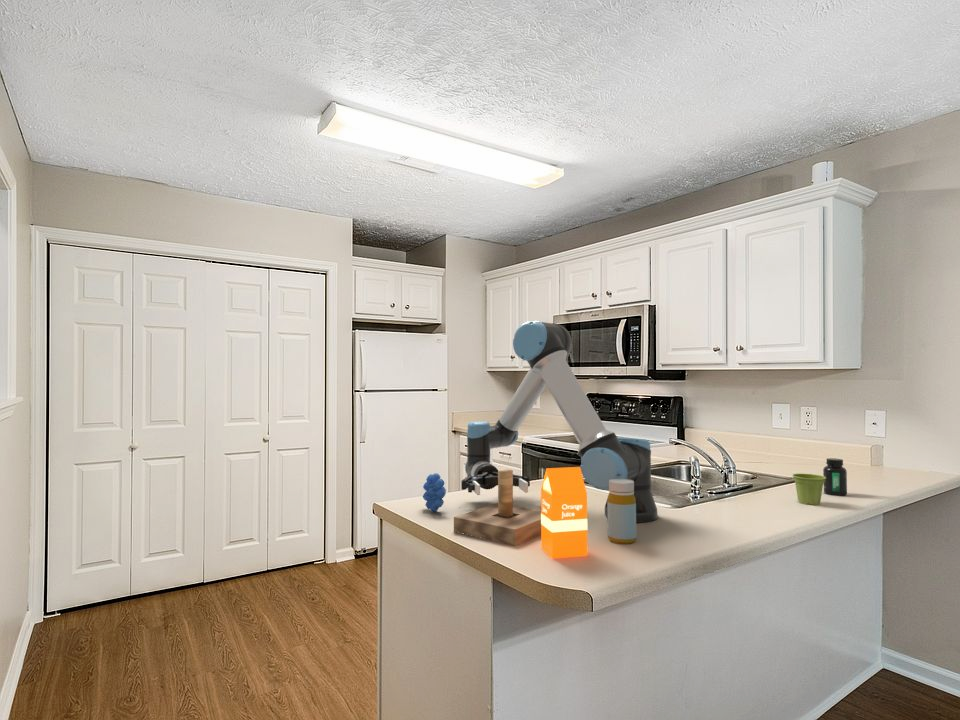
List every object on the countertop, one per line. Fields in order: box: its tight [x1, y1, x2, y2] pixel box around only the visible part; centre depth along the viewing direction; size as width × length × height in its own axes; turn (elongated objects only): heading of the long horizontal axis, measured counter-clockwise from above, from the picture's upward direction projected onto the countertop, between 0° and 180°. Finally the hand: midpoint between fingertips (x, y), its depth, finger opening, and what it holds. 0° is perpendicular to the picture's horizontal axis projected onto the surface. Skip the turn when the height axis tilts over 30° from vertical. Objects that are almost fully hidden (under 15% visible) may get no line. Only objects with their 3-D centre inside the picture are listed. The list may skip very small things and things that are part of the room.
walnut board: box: [453, 502, 541, 547], centre depth 154 cm, size 20×20×4 cm
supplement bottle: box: [822, 458, 848, 497], centre depth 195 cm, size 7×7×12 cm
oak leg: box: [497, 469, 514, 519], centre depth 154 cm, size 4×4×16 cm
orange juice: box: [540, 466, 588, 560], centre depth 135 cm, size 8×9×20 cm
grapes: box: [422, 472, 447, 513], centre depth 175 cm, size 12×7×12 cm, turn 34°
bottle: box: [606, 479, 637, 545], centre depth 144 cm, size 7×7×15 cm
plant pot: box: [791, 473, 826, 506], centre depth 183 cm, size 9×9×9 cm
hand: (503, 488), depth 156 cm, fingers open, 13 cm apart
